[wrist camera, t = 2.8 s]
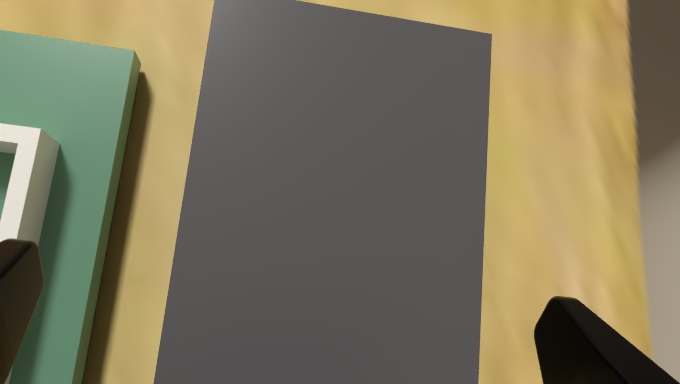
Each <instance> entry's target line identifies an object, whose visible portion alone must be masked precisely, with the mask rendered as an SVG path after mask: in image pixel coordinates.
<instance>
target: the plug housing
mask: <svg viewBox="0 0 680 384" xmlns="http://www.w3.org/2000/svg"><path fill="white" fill-rule="evenodd" d="M491 41H492V34H488V33H482V32H476V31H471V30H465V29H459V28H453V27H447V26H442V25H436V24H430V23H424V22H418V21H412V20H407V19H401V18H395V17H389V16H383V15H378V14H372V13H366V12H360V11H354V10H349V9H343V8H337V7H331V6H325V5H320V4H314V3H308V2H302V1H296V0H214V7H213V13H212V19H211V26H210V32H209V38H208V44H207V51H206V57H205V63H204V70H203V76H202V82H201V89H200V95H199V101H198V107H197V114H196V120H195V126H194V133H193V139H192V145H191V152H190V158H189V164H188V170H187V177H186V183H185V189H184V196H183V202H182V208H181V215H180V221H179V227H178V233H177V240H176V246H175V252H174V259H173V265H172V271H171V278H170V284H169V290H168V296H167V303H166V309H165V315H164V322H163V328H162V334H161V341H160V347H159V353H158V359H157V366H156V372H155V378H154V384H478V376H479V350H480V324H481V298H482V273H483V247H484V221H485V196H486V170H487V144H488V118H489V93H490V67H491Z"/></svg>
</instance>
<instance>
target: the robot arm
mask: <svg viewBox="0 0 680 384" xmlns="http://www.w3.org/2000/svg"><path fill="white" fill-rule="evenodd" d="M42 288H43V272H42V266H41V260H40V255H39V249H38V246H37V244H36V243H35V242H34V241H31V240H24V239H14V238H9V239H5V240H3V241H1V242H0V384H5V382H6V380H7V378H8V376H9V373H10V371H11V369H12V366H13V364H14V361H15V359H16V356H17V354H18V351H19V349H20V346H21V343H22V341H23V338H24V336H25V333H26V330H27V328H28V325H29V323H30V320H31V318H32V315H33V312H34V310H35V307H36V305H37V302H38V300H39V297H40V294H41V292H42ZM534 339H535V344H536V349H537V355H538V360H539V365H540V370H541V375H542V380H543V384H680V383H679V382H678V381H676V380H675V379H674V378H673V377H671V376H670V375H669V374H668V373H667V372H665V371H664V370H663V369H662V368H660V367H659V366H658V365H657V364H656V363H654V362H653V361H652V360H651V359H650V358H648V357H647V356H646V355H645V354H643V353H642V352H641V351H640V350H639V349H637V348H636V347H635V346H634V345H632V344H631V343H630V342H629V341H628V340H626V339H625V338H624V337H623V336H621V335H620V334H619V333H618V332H617V331H615V330H614V329H613V328H612V327H611V326H609V325H608V324H607V323H606V322H604V321H603V320H602V319H601V318H600V317H598V316H597V315H596V314H595V313H593V312H592V311H591V310H590V309H589V308H587V307H586V306H585V305H584V304H582V303H581V302H580V301H579V300H577V299H575V298H571V297H562V296H555V297H553V298H551V299H550V301H549V302H548V304H547V306H546V308H545V309H544V311H543V313H542V315H541V317H540V318H539V320H538V322H537V324H536V326H535V330H534Z"/></svg>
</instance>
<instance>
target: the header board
mask: <svg viewBox="0 0 680 384" xmlns="http://www.w3.org/2000/svg"><path fill="white" fill-rule="evenodd" d="M140 66H141V63H140V61H139V59H138V57H137V55H136V53H135V51H134V50H128V49H121V48H115V47H108V46H102V45H95V44H89V43H82V42H75V41H69V40H62V39H56V38H49V37H43V36H36V35H30V34H23V33H17V32H10V31H4V30H0V242H1V241H3V240H5V239H9V238H14V239H24V240H31V241H34V242H35V243H36V244H37V246H38V249H39V255H40V260H41V266H42V272H43V288H42V292H41V294H40V297H39V300H38V302H37V305H36V307H35V310H34V312H33V315H32V318H31V320H30V323H29V325H28V328H27V330H26V333H25V336H24V338H23V341H22V343H21V346H20V349H19V351H18V354H17V356H16V359H15V361H14V364H13V366H12V369H11V371H10V373H9V376H8V378H7V380H6V382H5V384H82V378H83V373H84V368H85V362H86V357H87V351H88V346H89V341H90V335H91V330H92V324H93V319H94V314H95V308H96V303H97V297H98V292H99V287H100V281H101V276H102V271H103V265H104V260H105V254H106V249H107V244H108V238H109V233H110V227H111V222H112V217H113V211H114V206H115V200H116V195H117V190H118V184H119V179H120V173H121V168H122V163H123V157H124V152H125V146H126V141H127V136H128V130H129V125H130V119H131V114H132V109H133V103H134V98H135V93H136V87H137V82H138V76H139V71H140Z"/></svg>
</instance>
